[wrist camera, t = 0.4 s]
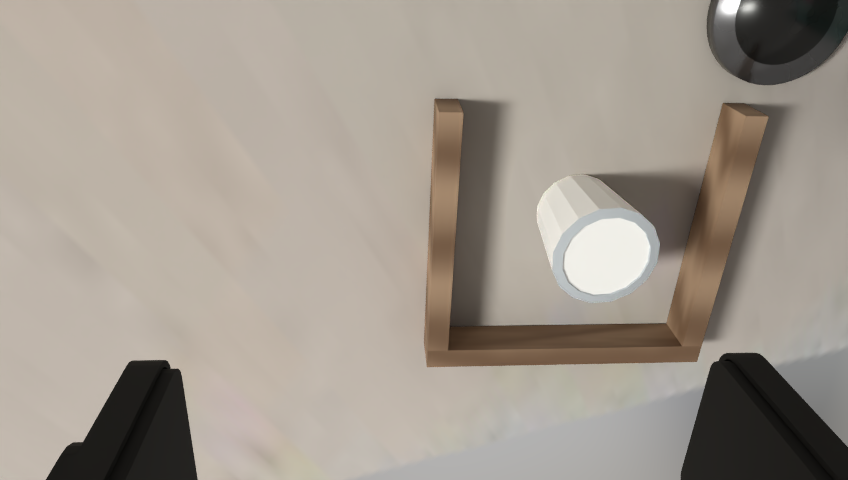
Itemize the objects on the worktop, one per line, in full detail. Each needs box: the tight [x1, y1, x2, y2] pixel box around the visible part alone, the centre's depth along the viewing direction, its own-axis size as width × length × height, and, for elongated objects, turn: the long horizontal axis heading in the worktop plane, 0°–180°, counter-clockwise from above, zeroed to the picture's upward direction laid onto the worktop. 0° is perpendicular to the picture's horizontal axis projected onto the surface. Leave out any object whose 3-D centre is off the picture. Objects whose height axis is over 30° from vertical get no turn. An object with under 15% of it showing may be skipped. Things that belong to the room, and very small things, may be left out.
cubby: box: [424, 99, 769, 367], centre depth 45 cm, size 20×21×3 cm
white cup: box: [537, 174, 660, 303], centre depth 43 cm, size 7×7×7 cm
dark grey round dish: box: [707, 0, 848, 85], centre depth 40 cm, size 9×9×1 cm
